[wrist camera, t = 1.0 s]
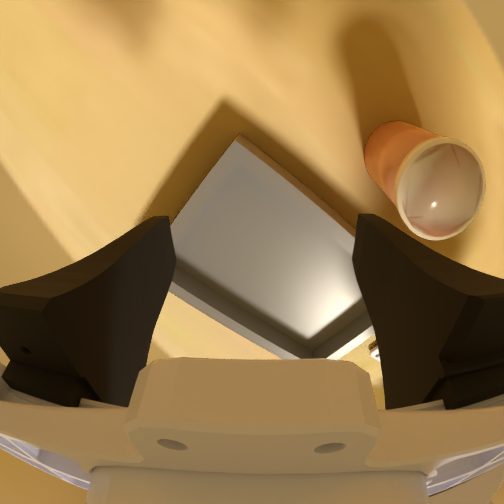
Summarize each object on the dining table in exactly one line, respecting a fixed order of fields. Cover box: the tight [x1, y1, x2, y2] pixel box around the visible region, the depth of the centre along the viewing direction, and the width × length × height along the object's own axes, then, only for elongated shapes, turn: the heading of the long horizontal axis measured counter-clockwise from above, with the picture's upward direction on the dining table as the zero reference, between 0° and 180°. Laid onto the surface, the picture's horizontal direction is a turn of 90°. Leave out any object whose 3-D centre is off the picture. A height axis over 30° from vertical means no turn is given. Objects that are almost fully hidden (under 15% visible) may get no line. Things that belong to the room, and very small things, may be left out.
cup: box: [364, 121, 485, 240], centre depth 16 cm, size 5×5×7 cm
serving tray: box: [168, 133, 375, 360], centre depth 23 cm, size 18×12×2 cm, turn 52°
